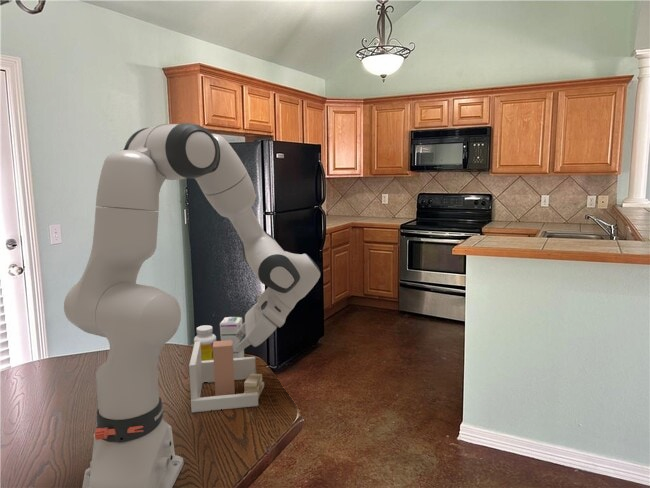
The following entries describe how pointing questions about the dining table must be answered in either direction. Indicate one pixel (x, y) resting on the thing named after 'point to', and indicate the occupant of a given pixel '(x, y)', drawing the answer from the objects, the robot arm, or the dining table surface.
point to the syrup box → (231, 333)
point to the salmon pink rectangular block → (223, 367)
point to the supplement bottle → (205, 341)
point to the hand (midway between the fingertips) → (237, 343)
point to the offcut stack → (254, 384)
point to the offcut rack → (205, 373)
